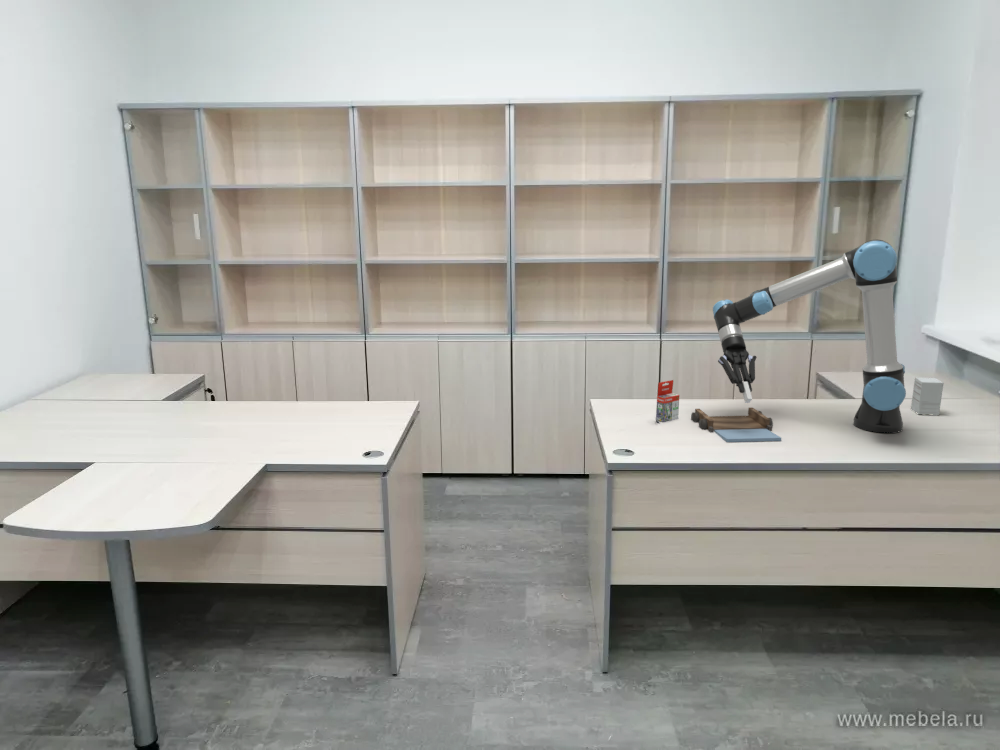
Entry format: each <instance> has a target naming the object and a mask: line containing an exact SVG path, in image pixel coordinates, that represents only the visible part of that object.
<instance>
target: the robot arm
mask: <svg viewBox="0 0 1000 750" xmlns="http://www.w3.org/2000/svg"><path fill="white" fill-rule="evenodd" d="M897 262H898V257H897V253H896V251H895V249H894V247H893V246H892V245H891V244H890V243H889V242H887V241H886V240H882V239H871V240H868V241H866V242H864V243H862V244H860V245H858V246H856V247H855V248H854V249H850V250H849V251H847V252H843V255H842V256H841V257H839V258H837V259H835V260H832V261H828V262H827V263H825V264H822V265H820V266H817V267H814V268H812V269H810V270H807V271H804V272H802V273H799V274H797V275H795V276H791V277H789V278H787V279H784V280H782V281H779V282H777V283H774V284H771V285H768V286H767V287H764V288H762V289H758V290H755V291H753V292H751V293H750V294H749V295H748V296H746V297H744V298H742V299H740V300H738V301H735V302H733V300H730V299H722V300H719V301H717V302H716V303H715V304H714V305H713V307H712V312H713V319H714V322H715V326H716V329H717V333H718V337H719V340H720V343H721V349H722V352H723V355H721V356H720V357H719V359H718V360H717V362H718V364H720V365H721V366H722V368H723V370H724V372H725V373H726V375H727V377H728V380H729V381H730V383H731V384H732V385H734V384H735V386H736V387H737V388H738V390H739V391H738V392H739V393H740V394H742V397H743V401H744V403H745V404H746V403H747V404H748V403H749V404H750V403H751V401H752V400H753V396H752V391H753V388H752V384H753V383H754V381H755V379H756V361H757V360H756V359H757V356H756V355H753V356H752V355H751V354H749V351H748V350H747V346H746V342H745V339H744V335H743V332H742V328H741V326H740V325H741V324H743V323H745V322H747V321H750V320H752V319H756V318H757V317H760V316H762V315H766V314H768V313H769V312H772V311H773V309H774V308H775V307H777V306H780V305H783V304H786V303H788V302H790V301H793V300H796V299H799V298H802V297H804V296H806V295H810V294H812V293H814V292H817V291H820V290H822V289H825V288H827V287H831V286H833V285H836V284H839V283H841V282H843V281H847V280H849V279H852V280H855V287H856V288H858V289H859V290H860V291H861V296H862V297H861V298H862V299H861V300H862V312H863V313H862V314H863V324H864V340H865V349H866V350H865V351H866V352H865V353H866V364H865V365H864V366H863V367H862V379H863V390H862V395H861V396H862V397H861V403H860V406H859V408H858V409H857V411H856V413H855V415H854V417H853V426H854V427H856V428H858V429H861V430H864V431H869V432H872V431H873V433H879V432H884V433H883V434H891V433H890V432H897V433H899V432H898V431H900V432H902V431H903V428H904V427H903V426H904V423H903V418H902V413H901V409H900V405H902V403H903V402H904V400H905V398H906V396H907V392H906V391H907V390H906V388H905V373H906V370H905V368H906V367H905V364H903V363H900V362H898V353H897V341H896V340H897V339H896V324H895V311H894V310H895V309H894V296H893V295H894V293H893V287H894V286H895V285H896V284H897V283H898V271H897V269H898V268H897ZM747 361H748V367H747ZM901 430H902V431H901ZM885 432H887V433H885ZM888 432H889V433H888Z"/></svg>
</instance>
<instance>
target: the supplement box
mask: <svg viewBox="0 0 1000 750" xmlns="http://www.w3.org/2000/svg"><path fill="white" fill-rule="evenodd" d="M944 384H945V383H944V382H943V381H941V380H940V379H938V378H936V377H914V382H913V391H912V398H911V405H910V410H911V409H912V410H914V411H915V412H917V413H918V414H933V415H932V416H937V415H939V416H940V411H941V409H940V408H941V404H942V397H943V396H942V395H943V390H944ZM912 410H911V411H912ZM915 412H914V413H915ZM918 414H917V415H918Z"/></svg>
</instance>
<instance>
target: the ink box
mask: <svg viewBox="0 0 1000 750" xmlns="http://www.w3.org/2000/svg"><path fill="white" fill-rule="evenodd" d="M665 384H666V385H665ZM673 387H674V379H672V380H665V381H660V382H657V392H656V393H657V394H656V395H657V396H656V412H655V423H656V422H657V424H661V423H666V422H671V421H675V420H678V419H679V414H680V413H679V412H680V410H679V409H680V394H677V393H674V392H673Z"/></svg>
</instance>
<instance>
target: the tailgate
mask: <svg viewBox="0 0 1000 750" xmlns="http://www.w3.org/2000/svg"><path fill="white" fill-rule="evenodd" d="M713 433H715V434H717V436H719V437H720V438H721V439H722V440H723V441H725V442H726V443H741V442H743V443H746V442H749V443H750V442H777V441H778V442H781V441H782V437H781V436H779V435H778V434H776V433H774V432H773V431H769V430H768V429H766V428H757V429H715V430H714V431H713Z"/></svg>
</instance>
